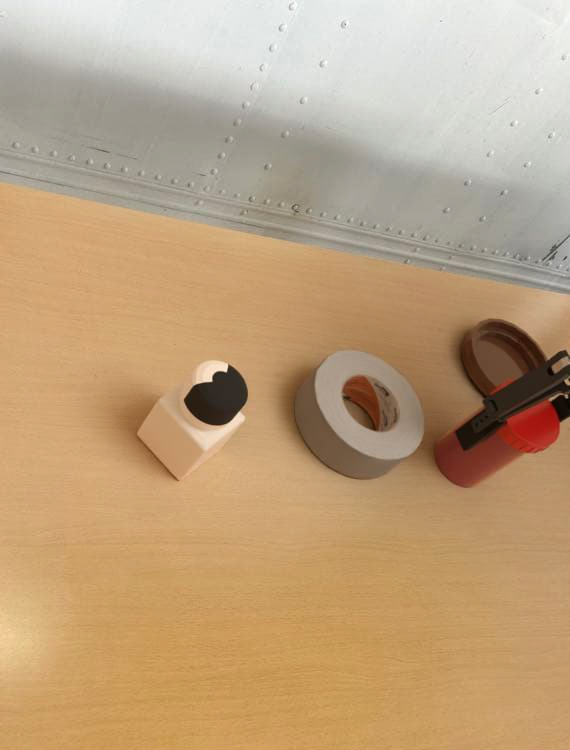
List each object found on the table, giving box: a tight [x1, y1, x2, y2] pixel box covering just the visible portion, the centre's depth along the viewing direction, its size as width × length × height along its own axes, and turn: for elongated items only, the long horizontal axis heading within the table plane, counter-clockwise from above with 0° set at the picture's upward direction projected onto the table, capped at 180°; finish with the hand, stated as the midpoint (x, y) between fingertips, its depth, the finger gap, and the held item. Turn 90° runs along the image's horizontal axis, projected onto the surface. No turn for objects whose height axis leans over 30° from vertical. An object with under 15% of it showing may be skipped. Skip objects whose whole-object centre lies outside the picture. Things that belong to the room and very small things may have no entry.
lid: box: [490, 379, 561, 454], centre depth 92 cm, size 9×9×2 cm
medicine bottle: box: [136, 359, 249, 481], centre depth 81 cm, size 7×7×12 cm
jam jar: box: [433, 404, 528, 489], centre depth 97 cm, size 8×8×12 cm
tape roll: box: [293, 349, 426, 480], centre depth 95 cm, size 15×15×5 cm
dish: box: [461, 317, 549, 397], centre depth 111 cm, size 14×14×3 cm
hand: (494, 436), depth 96 cm, fingers open, 11 cm apart
